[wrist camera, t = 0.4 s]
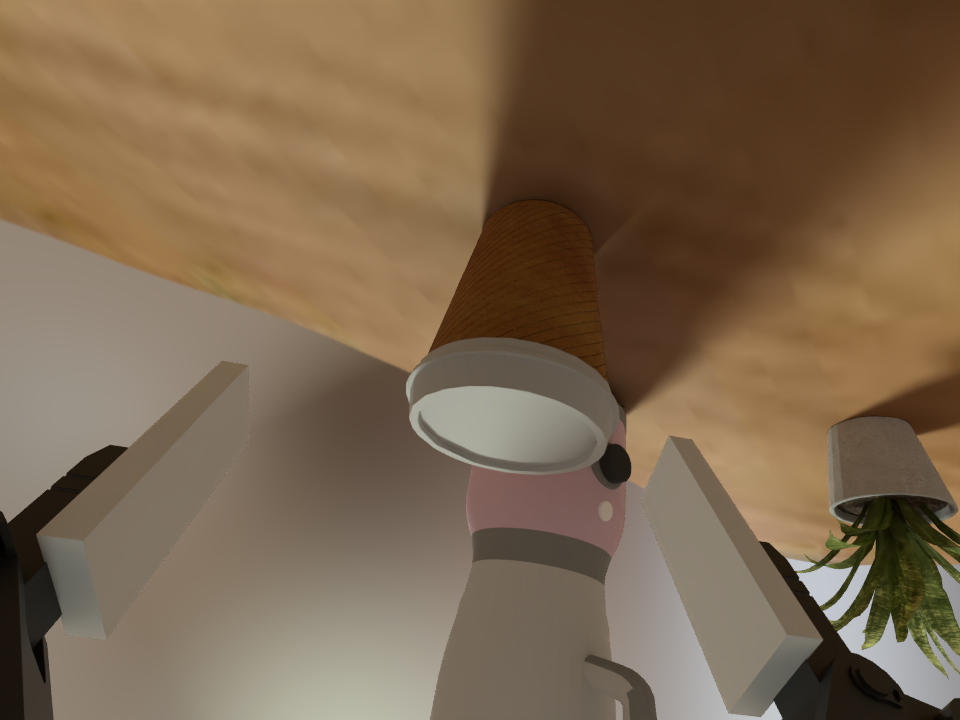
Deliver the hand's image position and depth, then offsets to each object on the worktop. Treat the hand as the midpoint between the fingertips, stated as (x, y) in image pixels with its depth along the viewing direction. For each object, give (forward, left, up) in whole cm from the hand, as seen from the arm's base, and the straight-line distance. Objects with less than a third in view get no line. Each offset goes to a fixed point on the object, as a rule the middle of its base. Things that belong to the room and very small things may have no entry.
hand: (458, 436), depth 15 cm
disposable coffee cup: (+5, +2, -15) cm, 16 cm away
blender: (+21, +9, -15) cm, 27 cm away
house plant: (+16, +30, -15) cm, 37 cm away
